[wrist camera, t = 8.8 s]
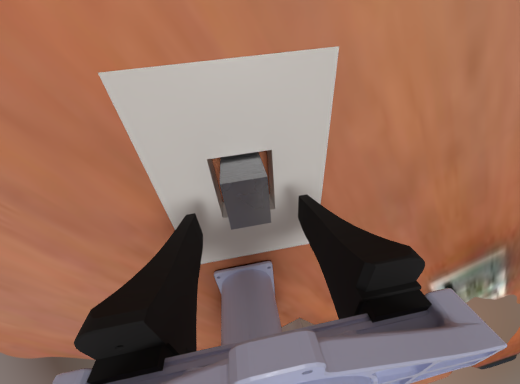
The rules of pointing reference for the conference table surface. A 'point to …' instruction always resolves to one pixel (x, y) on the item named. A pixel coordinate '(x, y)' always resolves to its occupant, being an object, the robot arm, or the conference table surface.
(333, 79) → the block
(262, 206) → the gray rectangular block
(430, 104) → the conference table surface
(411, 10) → the conference table surface
